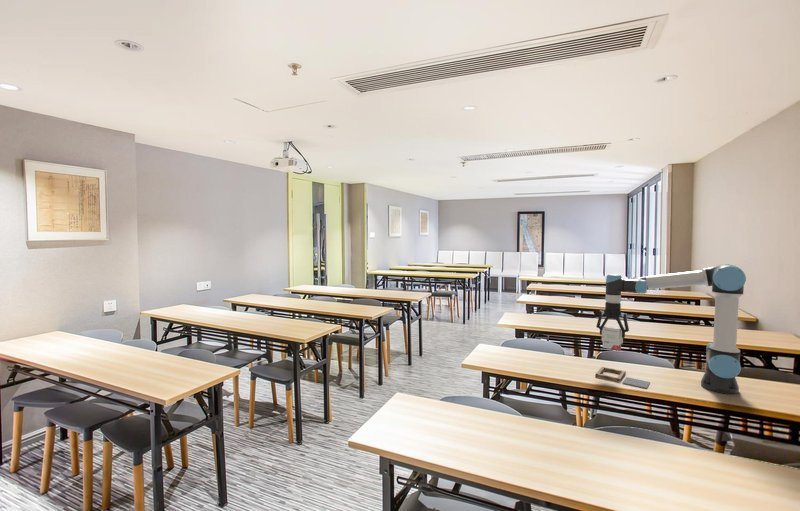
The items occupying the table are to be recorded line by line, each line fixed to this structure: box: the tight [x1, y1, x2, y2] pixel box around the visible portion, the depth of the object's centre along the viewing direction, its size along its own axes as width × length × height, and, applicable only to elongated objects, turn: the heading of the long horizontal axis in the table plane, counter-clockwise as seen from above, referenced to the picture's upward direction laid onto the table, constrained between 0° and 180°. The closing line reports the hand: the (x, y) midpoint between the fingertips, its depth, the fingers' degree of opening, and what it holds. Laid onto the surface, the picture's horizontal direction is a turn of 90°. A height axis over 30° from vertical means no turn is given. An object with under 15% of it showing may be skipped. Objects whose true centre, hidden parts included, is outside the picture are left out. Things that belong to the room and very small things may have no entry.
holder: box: [595, 366, 627, 383], centre depth 215 cm, size 12×16×2 cm
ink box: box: [602, 325, 622, 351], centre depth 214 cm, size 9×5×12 cm, turn 48°
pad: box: [622, 376, 651, 390], centre depth 204 cm, size 11×11×1 cm
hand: (612, 342), depth 214 cm, fingers closed on ink box, 8 cm apart
